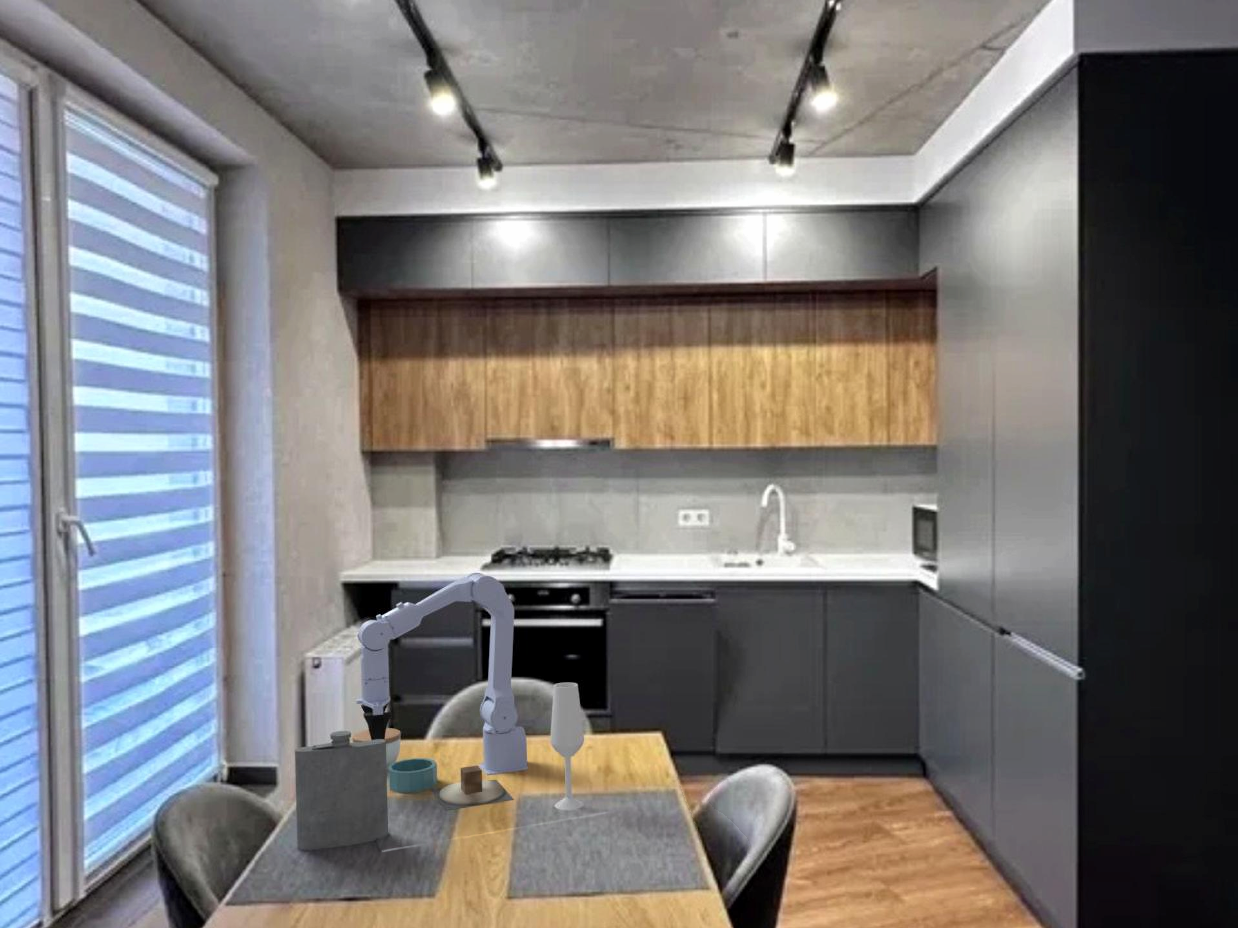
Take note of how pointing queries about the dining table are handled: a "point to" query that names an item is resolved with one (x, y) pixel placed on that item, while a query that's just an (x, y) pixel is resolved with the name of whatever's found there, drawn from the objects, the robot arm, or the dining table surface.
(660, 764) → the dining table surface
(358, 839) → the hip flask
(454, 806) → the mat
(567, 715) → the champagne flute
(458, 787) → the lid
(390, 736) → the lidded jar
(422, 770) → the bowl
